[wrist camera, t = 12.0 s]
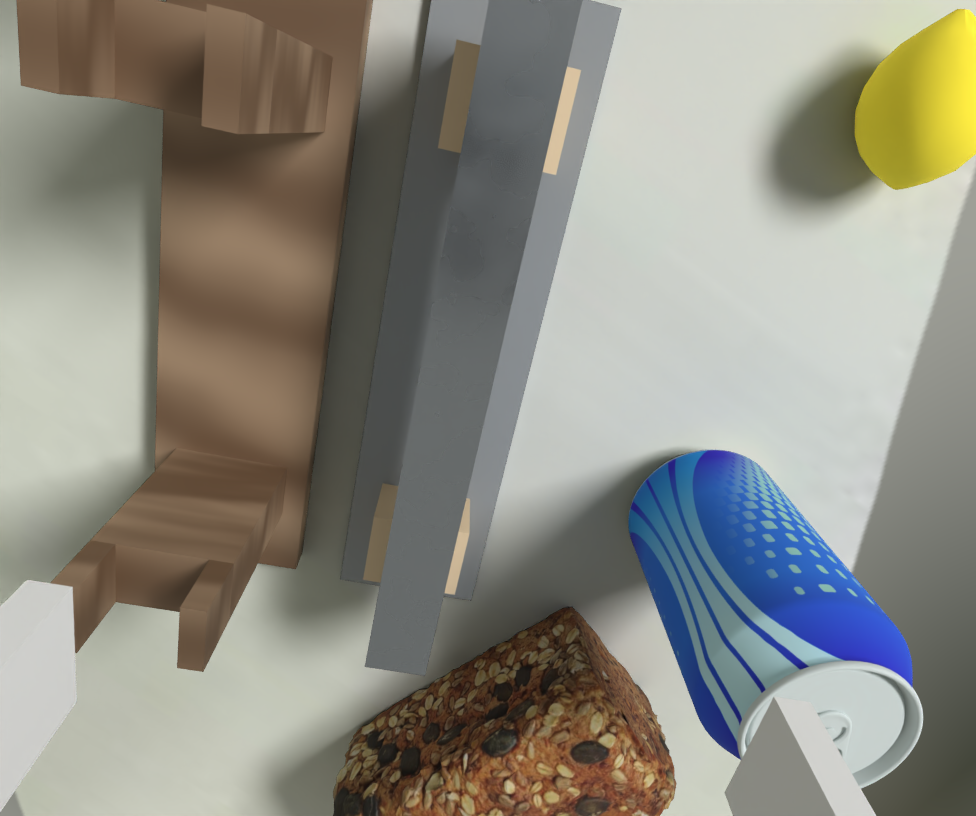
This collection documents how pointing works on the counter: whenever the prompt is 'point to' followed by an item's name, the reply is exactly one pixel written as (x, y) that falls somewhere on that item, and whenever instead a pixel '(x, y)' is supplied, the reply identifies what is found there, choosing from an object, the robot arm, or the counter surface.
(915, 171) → the lemon
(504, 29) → the steel rail
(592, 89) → the slate mat with oak rests
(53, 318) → the counter surface
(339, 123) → the walnut rack
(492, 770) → the bread
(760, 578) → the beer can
